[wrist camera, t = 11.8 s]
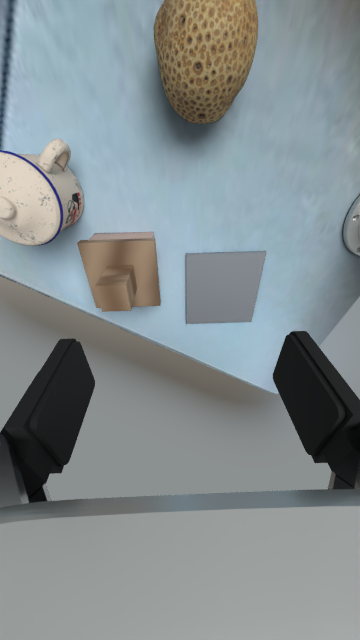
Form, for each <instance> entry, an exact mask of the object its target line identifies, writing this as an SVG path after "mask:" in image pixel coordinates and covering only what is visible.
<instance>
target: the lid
mask: <svg viewBox="0 0 360 640" xmlns="http://www.w3.org/2000/svg"><path fill="white" fill-rule="evenodd" d="M77 244H78V247H79V251H80V254H81V257H82V261H83V264H84V268H85V271H86V274H87V278H88V281H89V285H90V288H91V291H92V295H93V298H94V302H95V305H96V308H101V309H102V312H105V311H131V308H132V307H135V306H160V302H161V301H160V290H159V279H158V267H157V256H156V245H155V238H141V239H110V240H80V241H79V242H78V243H77Z"/></svg>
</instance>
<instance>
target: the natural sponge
mask: <svg viewBox="0 0 360 640" xmlns="http://www.w3.org/2000/svg"><path fill="white" fill-rule="evenodd" d="M257 37H258V16H257V7H256V3H255V0H164V2H163V4H162V6H161V7H160V9H159V11H158V13H157V16H156V19H155V24H154V42H155V48H156V53H157V58H158V64H159V70H160V76H161V81H162V85H163V88H164V91H165V94H166V97H167V99H168V101H169V102H170V104H171V106H172V107H173V108H174V110H175V111H176V112H177V113H178V114H179V115H180V116H181V117H182V118H184V119H185V120H187V121H189V122H191V123H197V124H208V123H212V122H216V121H218V120H219V119H220V118H222V116H223V115H224V114H225V113H226V111H227V110H228V109H229V107H230V105H231V104H232V102H233V100H234V98H235V97H236V95H237V94H238V93H239V91H240V90H241V89H242V87H243V85H244V84H245V81H246V79H247V76H248V74H249V71H250V68H251V65H252V62H253V58H254V54H255V50H256V45H257Z"/></svg>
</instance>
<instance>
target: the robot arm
mask: <svg viewBox="0 0 360 640" xmlns="http://www.w3.org/2000/svg"><path fill="white" fill-rule="evenodd" d="M343 237H344V242H345V244H346V246H347V248H348V249H349V250H350V251H351V252H353V253H354V254H356V255H358V256H360V196H359V197H358V198H357V199H356V201H355V202H354V204H353V205H352V207H351V209H350V211H349V213H348V215H347V217H346V220H345V224H344V230H343ZM273 380H274V383H275V385H276V387H277V389H278V391H279V394H280V396H281V398H282V400H283V402H284V405H285V407H286V409H287V411H288V413H289V416H290V417H291V420H292V422H293V424H294V426H295V429H296V431H297V433H298V435H299V437H300V440H301V442H302V444H303V446H304V448H305V450H306V452H307V453H308V454H309V455H311V456H312V458H313V460H314V462H315V463H328V465H329V466H330V468H331V470H332V472H331V477H330V482H329V486H328V490H290V491H263V492H235V493H211V494H186V495H163V496H139V497H118V498H95V499H77V500H61V501H51V498H50V495H49V492H48V489H47V486H46V482H47V479H48V476H49V474H50V473H61V472H62V470H63V467H64V465H66V464H67V463H68V462H69V460H70V457H71V454H72V451H73V449H74V446H75V443H76V440H77V437H78V434H79V431H80V428H81V425H82V422H83V419H84V416H85V413H86V411H87V407H88V405H89V402H90V399H91V396H92V393H93V390H94V387H95V380H94V377H93V375H92V372H91V369H90V367H89V364H88V362H87V359H86V356H85V354H84V351H83V349H82V346H81V344H80V342H77V341H76V340H75V339H61V340H59V341H58V343H57V345H56V346H55V348H54V350H53V351H52V353H51V354H50V356H49V357H48V359H47V361H46V362H45V364H44V365H43V367H42V369H41V370H40V371H39V373H38V374H37V375H36V377H35V378H34V380H33V381H32V383H31V385H30V386H29V388H28V389H27V391H26V393H25V394H24V396H23V397H22V399H21V401H20V402H19V404H18V405H17V407H16V408H15V410H14V412H13V413H12V415H11V416H10V418H9V420H8V421H7V423H6V424H5V426H4V428H3V429H2V431H1V432H0V640H360V400H359V398H358V397H357V396H356V395H355V393H354V392H353V391H352V390H351V388H350V387H349V385H348V384H347V383H346V382H345V380H344V379H343V378H342V377H341V375H340V374H339V373H338V371H337V370H336V369H335V368H334V366H333V365H332V364H331V362H330V361H329V360H328V359H327V357H326V356H325V355H324V353H323V352H322V351H321V349H320V348H319V347H318V346H317V344H316V343H315V342H314V340H313V339H312V338H311V337H310V335H309V334H308V333H307V332H306V331H293V332H291V333H290V334H289V335H287V336H286V338H285V341H284V344H283V347H282V349H281V352H280V355H279V358H278V361H277V364H276V367H275V370H274V373H273Z"/></svg>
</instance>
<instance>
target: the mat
mask: <svg viewBox="0 0 360 640" xmlns="http://www.w3.org/2000/svg"><path fill="white" fill-rule="evenodd" d="M265 256H266V252H265V251H250V252H215V253H186V324H193V323H224V322H252V317H253V312H254V308H255V303H256V298H257V294H258V289H259V284H260V279H261V275H262V270H263V265H264V261H265Z"/></svg>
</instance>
